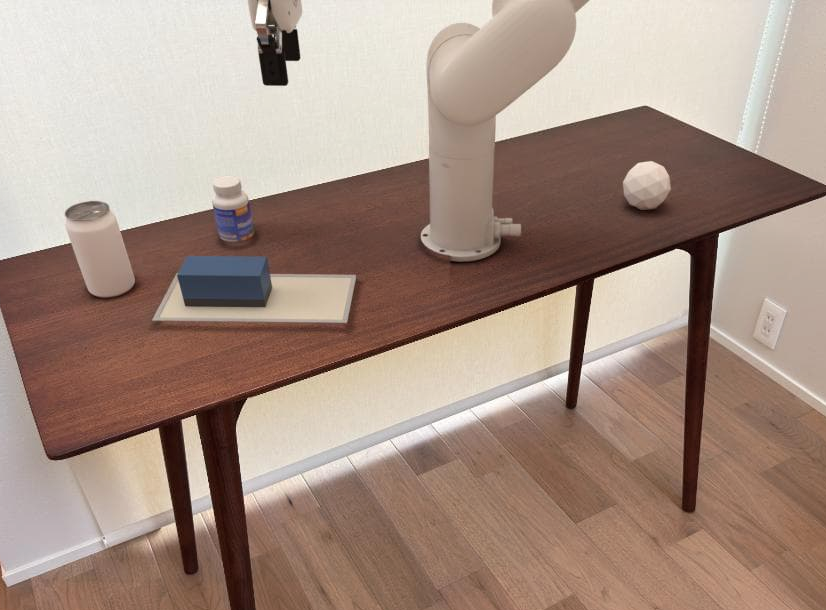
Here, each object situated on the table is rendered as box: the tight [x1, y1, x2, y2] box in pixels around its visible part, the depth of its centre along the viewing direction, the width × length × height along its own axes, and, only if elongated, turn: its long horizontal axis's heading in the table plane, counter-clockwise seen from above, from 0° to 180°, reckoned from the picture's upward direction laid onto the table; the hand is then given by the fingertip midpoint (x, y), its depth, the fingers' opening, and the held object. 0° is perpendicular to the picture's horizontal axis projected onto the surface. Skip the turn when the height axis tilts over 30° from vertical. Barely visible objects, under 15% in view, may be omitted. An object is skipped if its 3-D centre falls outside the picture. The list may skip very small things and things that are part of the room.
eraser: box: [176, 255, 272, 307], centre depth 107 cm, size 11×5×5 cm, turn 90°
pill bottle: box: [211, 175, 255, 243], centre depth 120 cm, size 5×5×10 cm
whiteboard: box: [151, 272, 357, 324], centre depth 109 cm, size 26×12×1 cm, turn 90°
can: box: [64, 200, 136, 299], centre depth 108 cm, size 6×6×12 cm
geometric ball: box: [622, 160, 672, 211], centre depth 131 cm, size 8×8×8 cm
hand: (282, 72), depth 104 cm, fingers open, 9 cm apart
